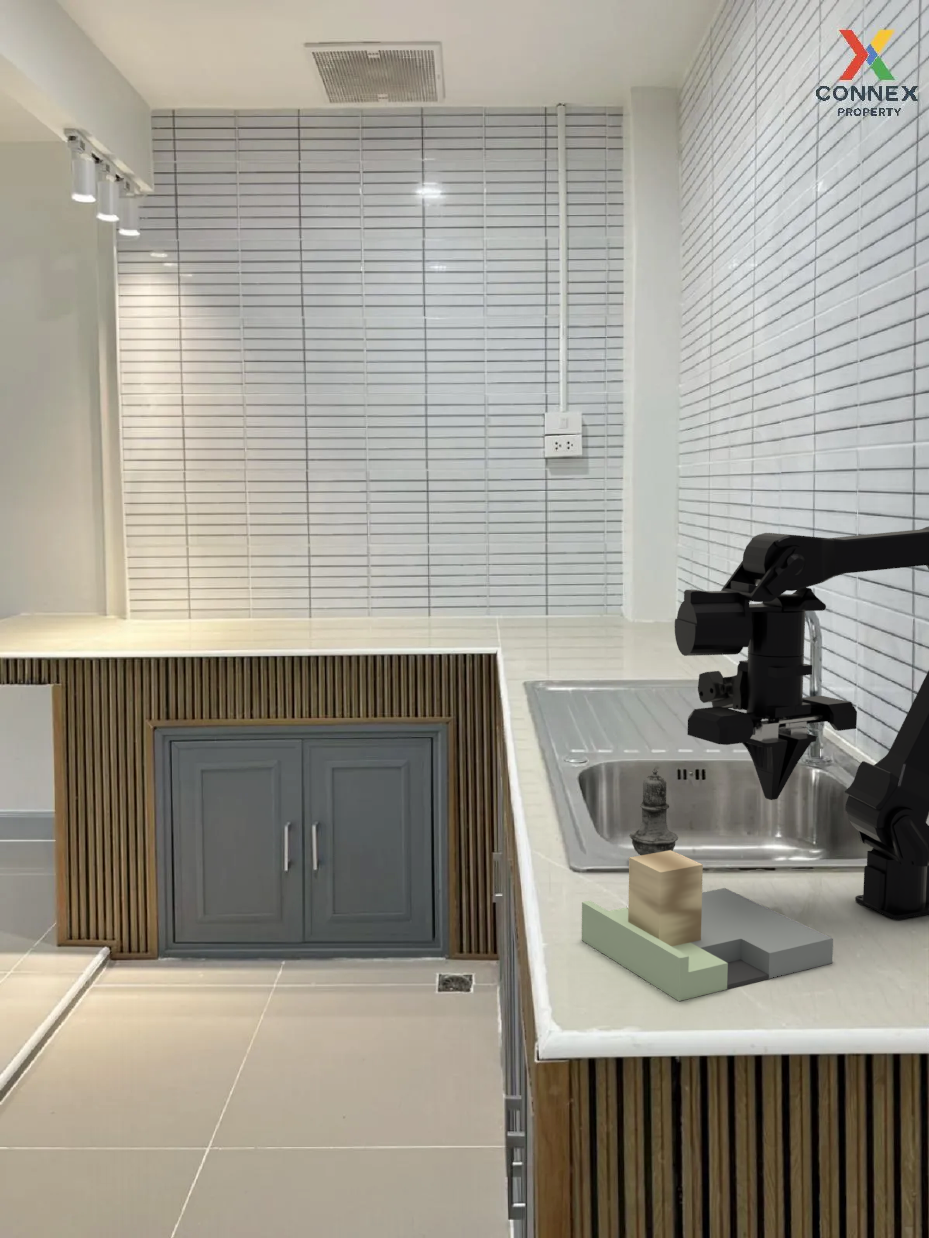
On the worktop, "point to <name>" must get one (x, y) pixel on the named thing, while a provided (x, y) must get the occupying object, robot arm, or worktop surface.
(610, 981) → the worktop surface
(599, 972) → the worktop surface
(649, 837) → the salt shaker
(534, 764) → the worktop surface
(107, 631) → the worktop surface
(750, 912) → the board
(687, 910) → the beech block
